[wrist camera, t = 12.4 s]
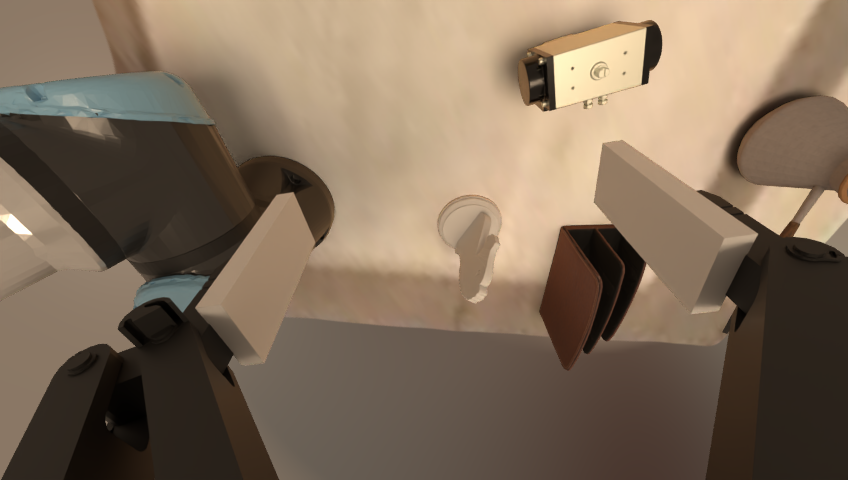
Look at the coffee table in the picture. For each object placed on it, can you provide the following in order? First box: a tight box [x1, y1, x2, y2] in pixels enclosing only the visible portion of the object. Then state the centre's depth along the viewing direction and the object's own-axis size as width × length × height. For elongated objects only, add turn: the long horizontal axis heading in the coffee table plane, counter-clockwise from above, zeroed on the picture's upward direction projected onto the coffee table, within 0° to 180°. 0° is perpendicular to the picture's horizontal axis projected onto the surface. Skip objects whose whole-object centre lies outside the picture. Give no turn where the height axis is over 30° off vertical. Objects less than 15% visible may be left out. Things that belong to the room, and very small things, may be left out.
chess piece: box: [438, 195, 502, 303], centre depth 46 cm, size 10×10×15 cm
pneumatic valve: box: [518, 20, 662, 112], centre depth 34 cm, size 6×12×12 cm, turn 106°
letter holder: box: [540, 225, 646, 371], centre depth 53 cm, size 10×20×14 cm, turn 1°
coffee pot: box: [737, 96, 848, 238], centre depth 41 cm, size 21×12×15 cm, turn 151°
